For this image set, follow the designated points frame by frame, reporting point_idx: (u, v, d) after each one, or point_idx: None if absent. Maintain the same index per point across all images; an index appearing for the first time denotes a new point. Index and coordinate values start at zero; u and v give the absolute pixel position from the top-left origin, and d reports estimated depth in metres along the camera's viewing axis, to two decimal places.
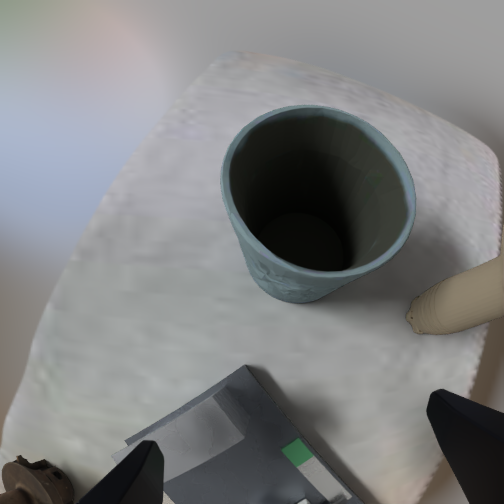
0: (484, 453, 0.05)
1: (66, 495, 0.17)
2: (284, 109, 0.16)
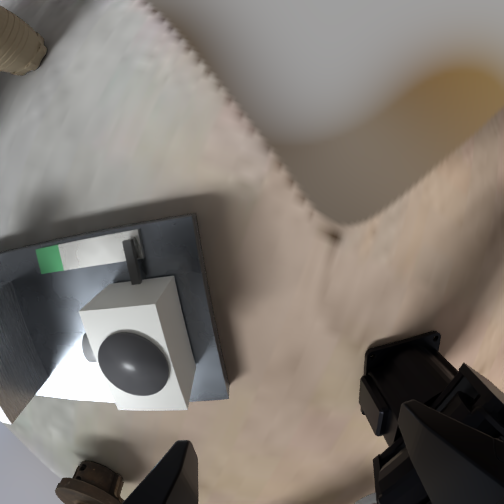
0: (452, 471, 0.05)
1: (99, 475, 0.21)
2: None
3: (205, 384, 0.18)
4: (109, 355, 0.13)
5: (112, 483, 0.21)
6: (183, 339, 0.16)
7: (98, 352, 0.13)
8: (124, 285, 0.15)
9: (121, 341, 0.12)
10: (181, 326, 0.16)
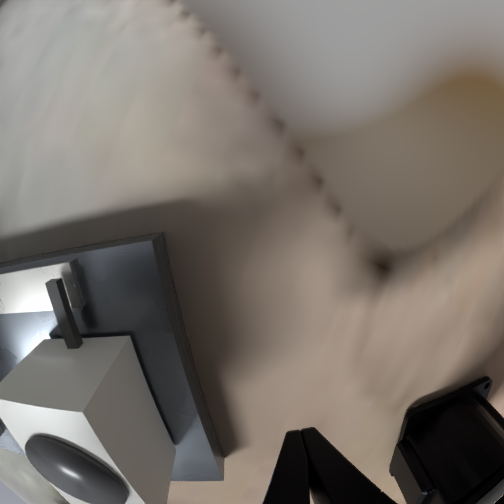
0: None
1: None
2: None
3: (191, 466, 0.11)
4: (40, 459, 0.06)
5: None
6: (151, 428, 0.09)
7: (27, 450, 0.06)
8: (58, 347, 0.09)
9: (48, 449, 0.06)
10: (146, 410, 0.09)
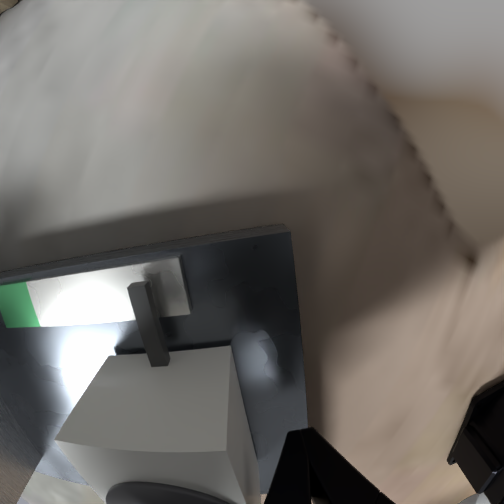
0: None
1: None
2: None
3: None
4: None
5: None
6: (249, 446, 0.08)
7: (106, 496, 0.05)
8: (136, 366, 0.08)
9: (150, 496, 0.05)
10: (245, 427, 0.08)
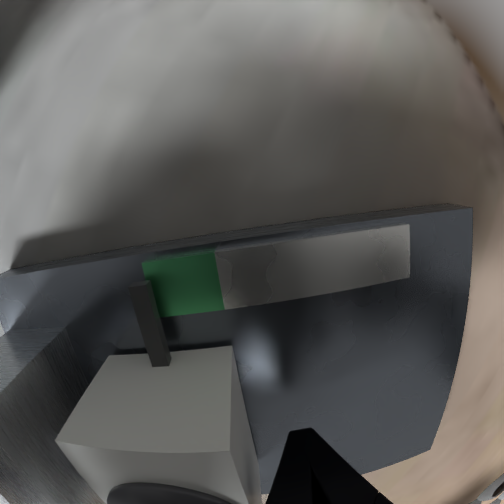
0: None
1: None
2: None
3: (414, 441, 0.10)
4: None
5: None
6: (250, 446, 0.08)
7: (108, 497, 0.05)
8: (137, 366, 0.08)
9: (152, 497, 0.05)
10: (246, 427, 0.08)
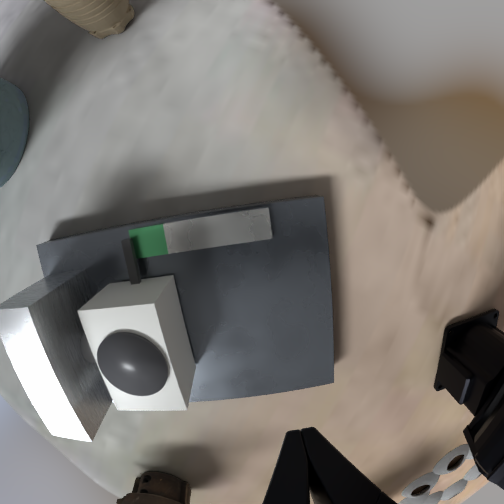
0: None
1: (168, 485, 0.21)
2: None
3: (314, 369, 0.18)
4: (108, 355, 0.12)
5: (181, 492, 0.21)
6: (183, 339, 0.16)
7: (97, 352, 0.13)
8: (123, 285, 0.15)
9: (120, 341, 0.12)
10: (181, 326, 0.16)
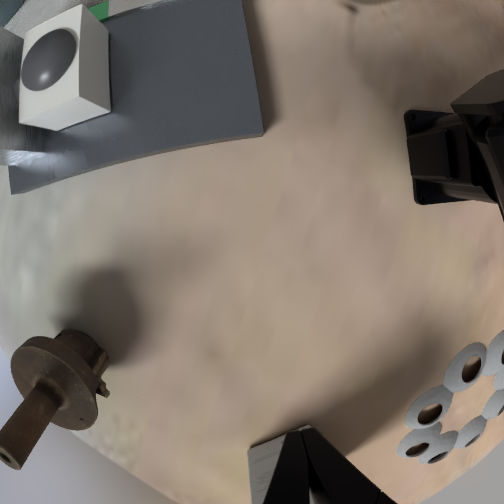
0: None
1: (77, 343, 0.18)
2: None
3: (237, 111, 0.15)
4: (32, 55, 0.10)
5: (93, 358, 0.18)
6: (101, 67, 0.13)
7: (25, 59, 0.10)
8: None
9: (46, 37, 0.10)
10: (103, 59, 0.13)
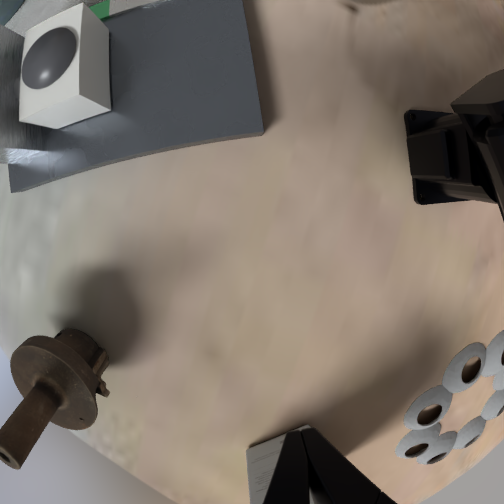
0: None
1: (76, 342, 0.18)
2: None
3: (237, 110, 0.15)
4: (33, 53, 0.10)
5: (92, 357, 0.18)
6: (101, 66, 0.13)
7: (26, 57, 0.10)
8: None
9: (47, 35, 0.10)
10: (103, 58, 0.13)
